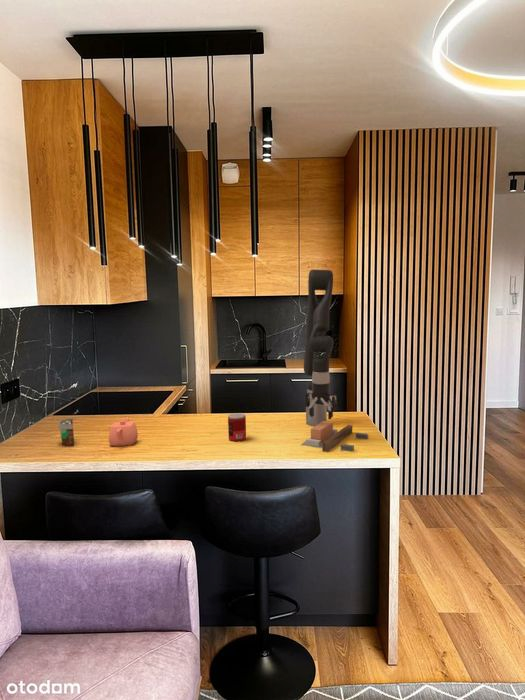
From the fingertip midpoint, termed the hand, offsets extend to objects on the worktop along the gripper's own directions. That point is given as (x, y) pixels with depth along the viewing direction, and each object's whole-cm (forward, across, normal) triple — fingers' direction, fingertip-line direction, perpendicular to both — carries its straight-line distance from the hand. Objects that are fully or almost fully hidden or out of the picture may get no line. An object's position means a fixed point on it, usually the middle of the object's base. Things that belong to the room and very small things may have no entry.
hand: (320, 417), depth 225 cm
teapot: (+10, +76, +44) cm, 88 cm away
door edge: (+10, -8, 0) cm, 13 cm away
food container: (+11, +98, +56) cm, 114 cm away
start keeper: (+10, -16, 0) cm, 18 cm away
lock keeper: (+10, -1, 0) cm, 10 cm away
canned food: (+10, +33, +17) cm, 38 cm away
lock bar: (+9, -1, 0) cm, 9 cm away
